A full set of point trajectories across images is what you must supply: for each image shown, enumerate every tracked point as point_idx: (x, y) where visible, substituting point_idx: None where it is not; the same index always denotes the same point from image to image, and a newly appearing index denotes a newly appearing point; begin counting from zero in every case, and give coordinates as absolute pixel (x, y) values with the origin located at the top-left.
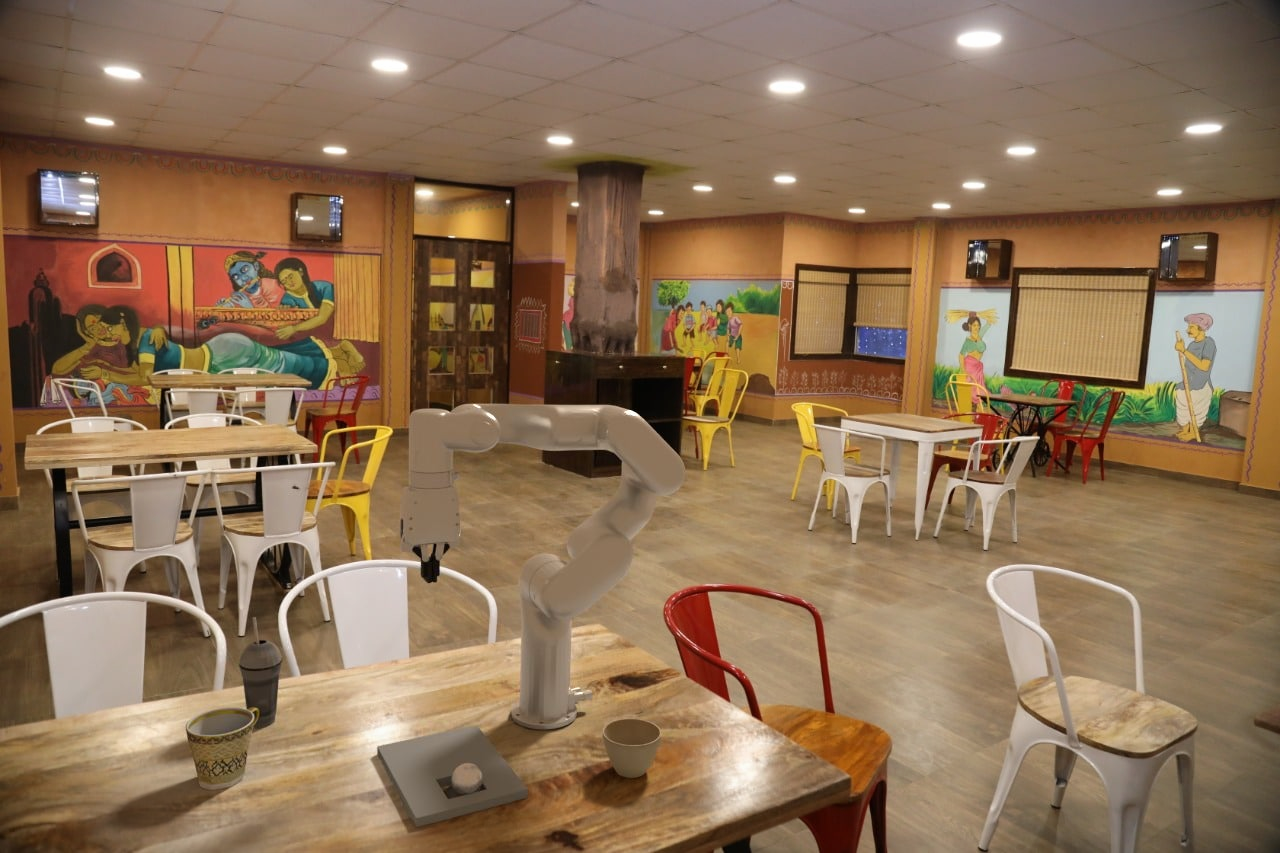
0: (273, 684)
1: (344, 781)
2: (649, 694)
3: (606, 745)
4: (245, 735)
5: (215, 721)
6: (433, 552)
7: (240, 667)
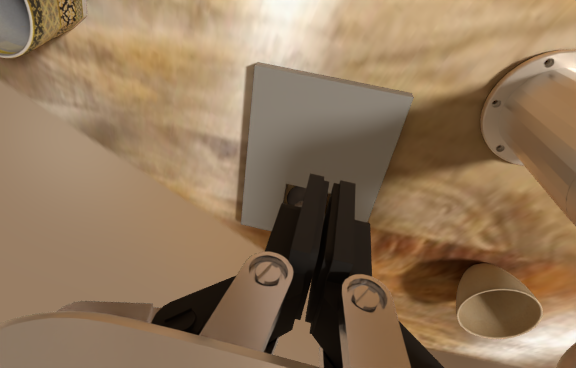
0: None
1: (202, 101)
2: None
3: (459, 296)
4: (37, 45)
5: None
6: (338, 325)
7: None
